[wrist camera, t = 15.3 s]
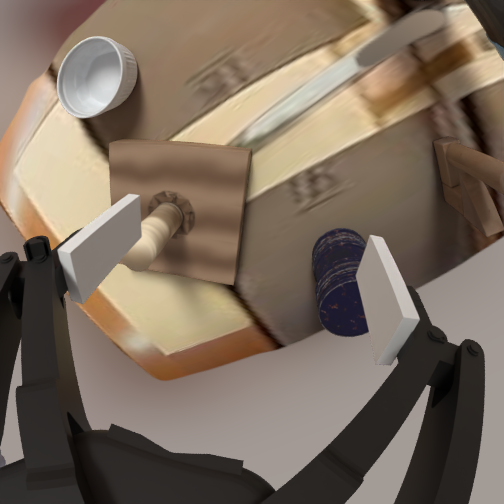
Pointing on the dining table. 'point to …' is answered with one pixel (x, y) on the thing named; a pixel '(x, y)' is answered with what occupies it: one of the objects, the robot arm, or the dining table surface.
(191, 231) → the walnut board
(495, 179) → the wooden peg block
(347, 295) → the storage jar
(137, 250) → the beech leg
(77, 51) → the ramekin
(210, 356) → the dining table surface
